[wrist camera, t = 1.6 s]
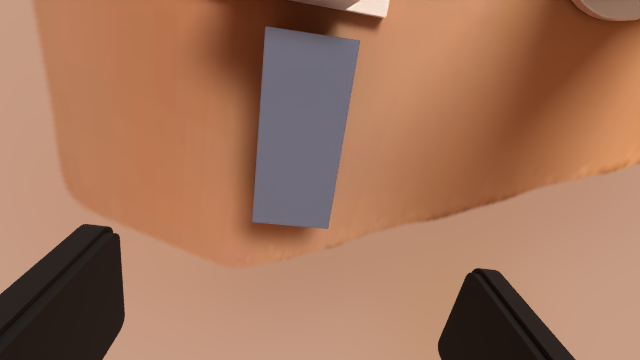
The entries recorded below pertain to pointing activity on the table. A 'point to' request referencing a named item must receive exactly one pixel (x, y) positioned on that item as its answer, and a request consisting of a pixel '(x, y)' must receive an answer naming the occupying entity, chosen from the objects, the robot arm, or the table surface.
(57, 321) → the robot arm
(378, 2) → the display stand
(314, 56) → the blue-grey rectangular block
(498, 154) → the table surface
